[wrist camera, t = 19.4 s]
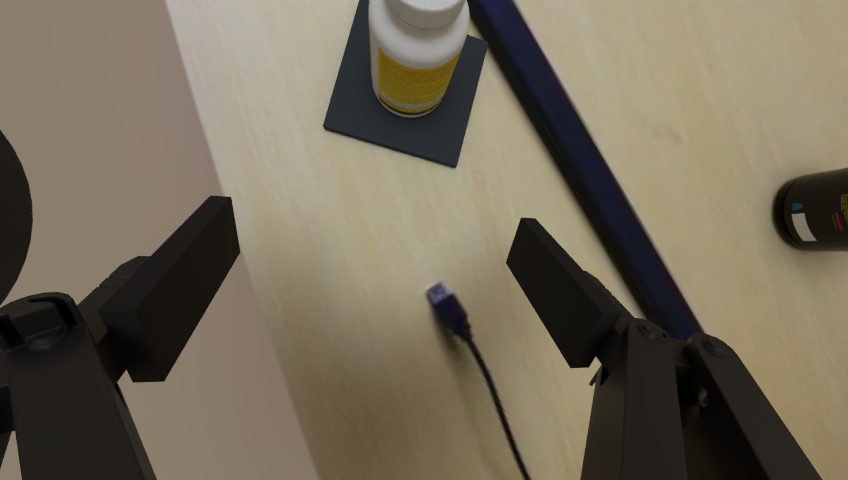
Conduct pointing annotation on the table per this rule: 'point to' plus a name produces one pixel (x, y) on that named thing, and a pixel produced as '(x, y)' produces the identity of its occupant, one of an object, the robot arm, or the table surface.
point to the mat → (372, 122)
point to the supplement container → (816, 211)
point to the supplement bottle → (415, 51)
